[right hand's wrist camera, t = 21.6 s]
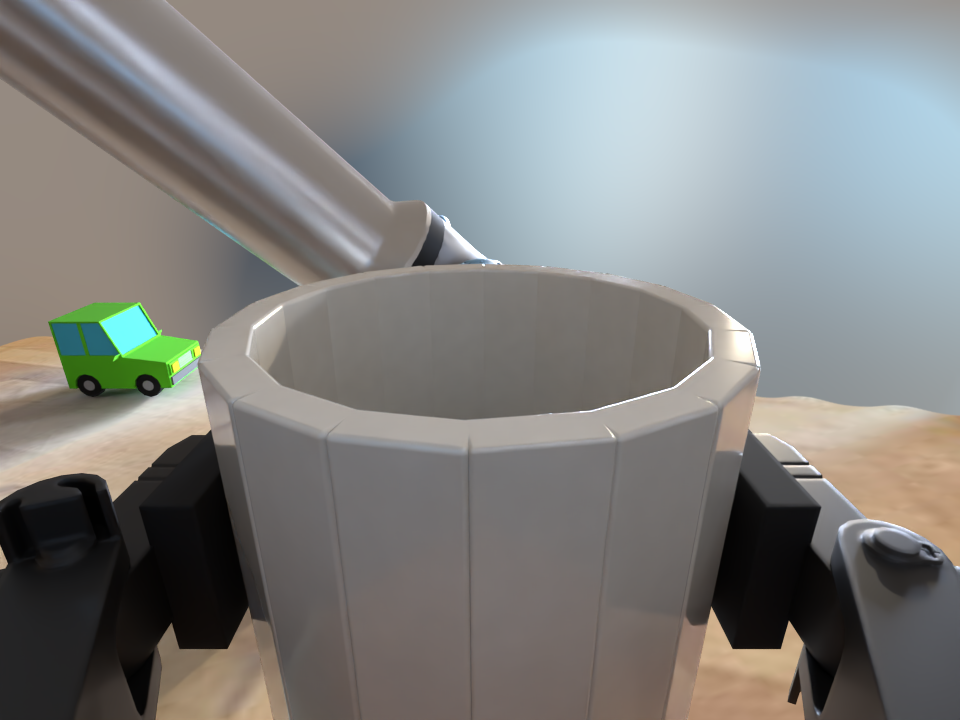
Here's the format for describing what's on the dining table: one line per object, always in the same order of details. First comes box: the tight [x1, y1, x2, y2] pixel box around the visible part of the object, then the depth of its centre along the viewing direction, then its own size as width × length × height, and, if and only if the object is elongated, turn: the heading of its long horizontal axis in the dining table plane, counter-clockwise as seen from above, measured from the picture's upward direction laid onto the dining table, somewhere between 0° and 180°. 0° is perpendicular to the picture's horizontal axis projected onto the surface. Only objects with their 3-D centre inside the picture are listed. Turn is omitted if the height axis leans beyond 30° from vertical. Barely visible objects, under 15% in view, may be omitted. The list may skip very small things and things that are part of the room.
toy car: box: [48, 303, 201, 396], centre depth 70 cm, size 10×13×10 cm
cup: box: [197, 264, 761, 720], centre depth 10 cm, size 8×8×10 cm
